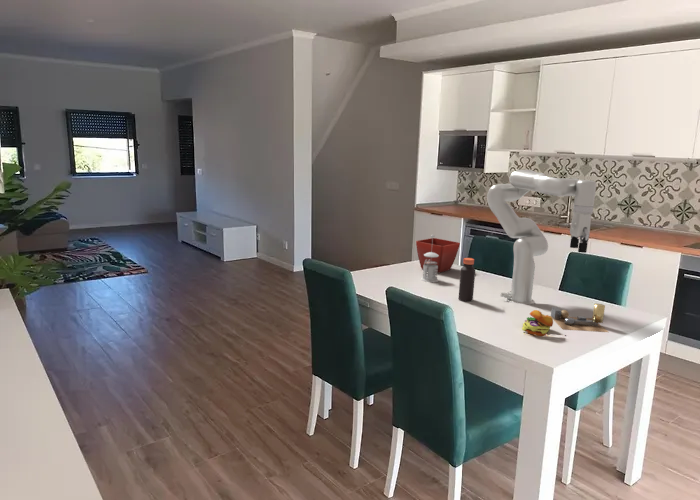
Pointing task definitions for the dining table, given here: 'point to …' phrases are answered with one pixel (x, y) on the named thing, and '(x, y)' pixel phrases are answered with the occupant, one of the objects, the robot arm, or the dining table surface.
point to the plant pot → (438, 252)
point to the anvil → (556, 313)
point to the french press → (430, 267)
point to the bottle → (467, 280)
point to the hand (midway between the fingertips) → (577, 250)
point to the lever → (597, 318)
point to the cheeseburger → (537, 324)
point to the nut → (564, 314)
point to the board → (580, 326)
